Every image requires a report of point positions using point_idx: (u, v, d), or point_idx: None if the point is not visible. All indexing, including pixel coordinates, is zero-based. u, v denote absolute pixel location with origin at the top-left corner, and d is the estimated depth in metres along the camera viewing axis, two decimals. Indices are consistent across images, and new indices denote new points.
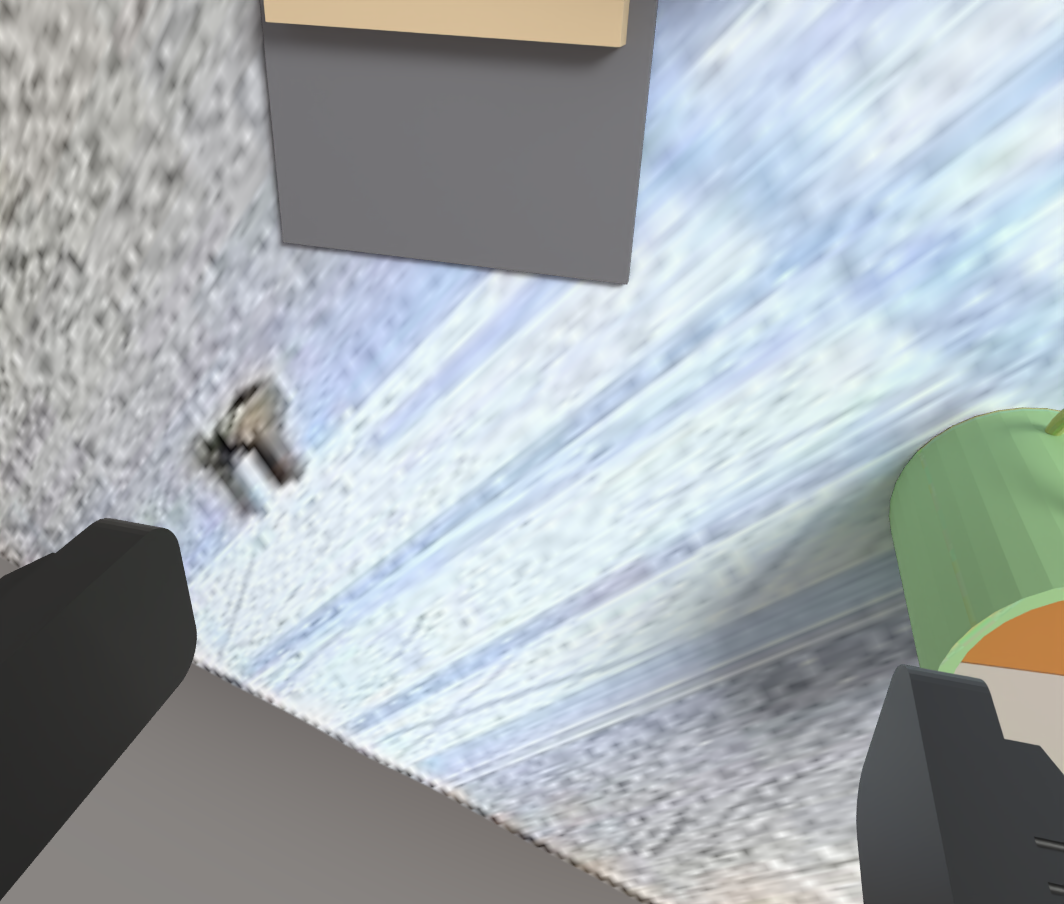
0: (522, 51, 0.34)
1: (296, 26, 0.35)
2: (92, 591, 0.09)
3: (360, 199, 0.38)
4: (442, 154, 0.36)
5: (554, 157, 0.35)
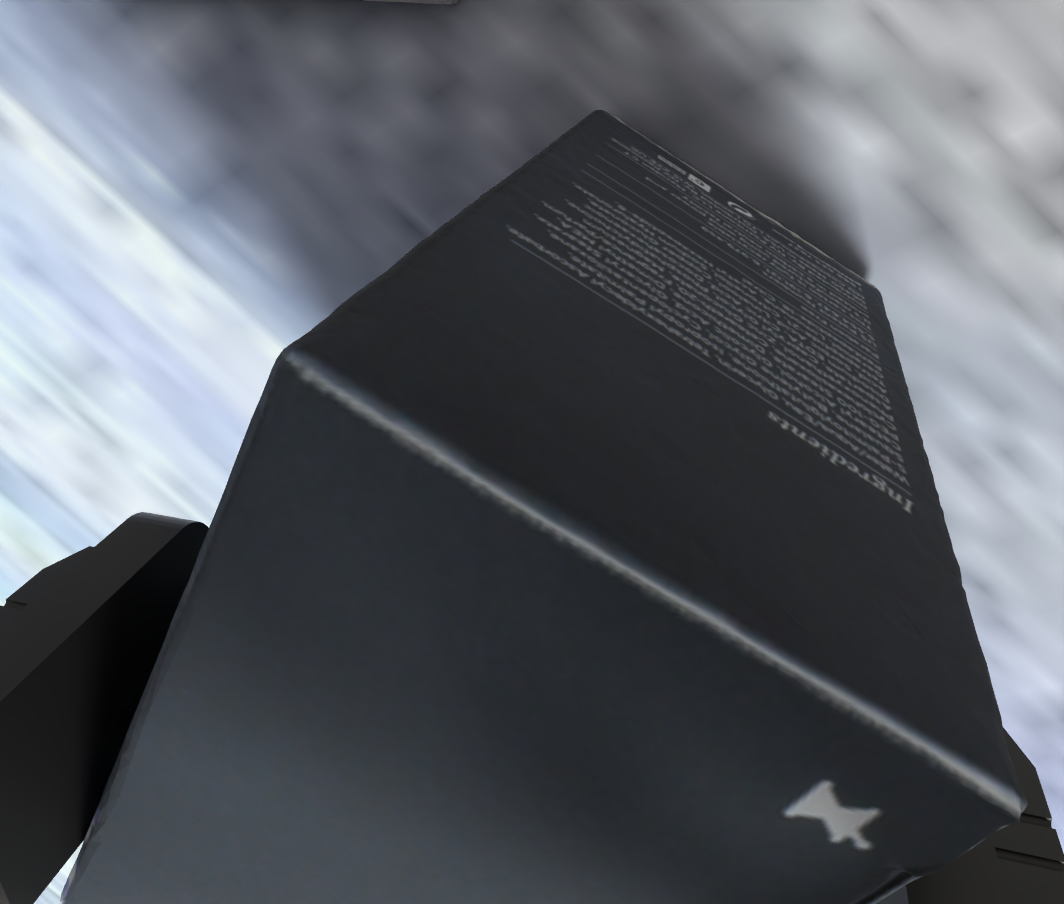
0: None
1: None
2: (133, 583, 0.09)
3: None
4: None
5: None
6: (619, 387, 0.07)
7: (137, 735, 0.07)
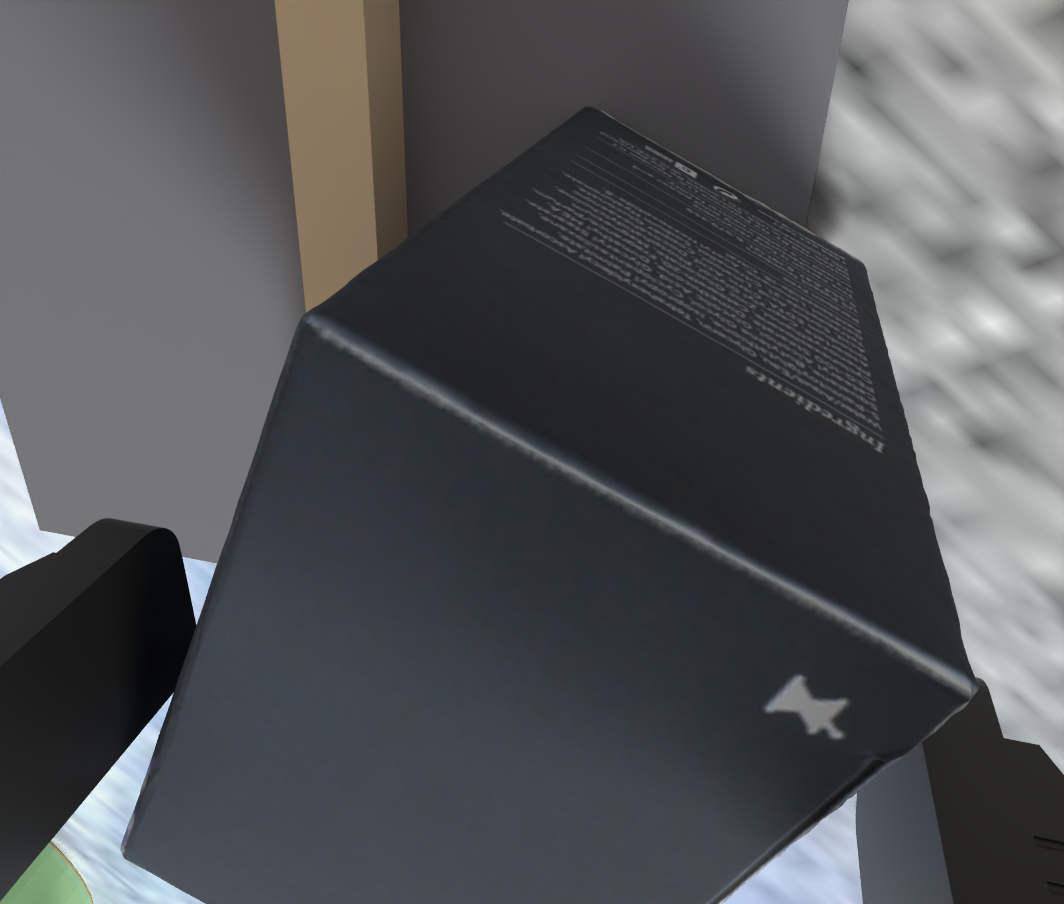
0: None
1: None
2: (93, 591, 0.09)
3: None
4: (132, 240, 0.18)
5: (183, 442, 0.20)
6: (605, 344, 0.07)
7: (187, 681, 0.08)
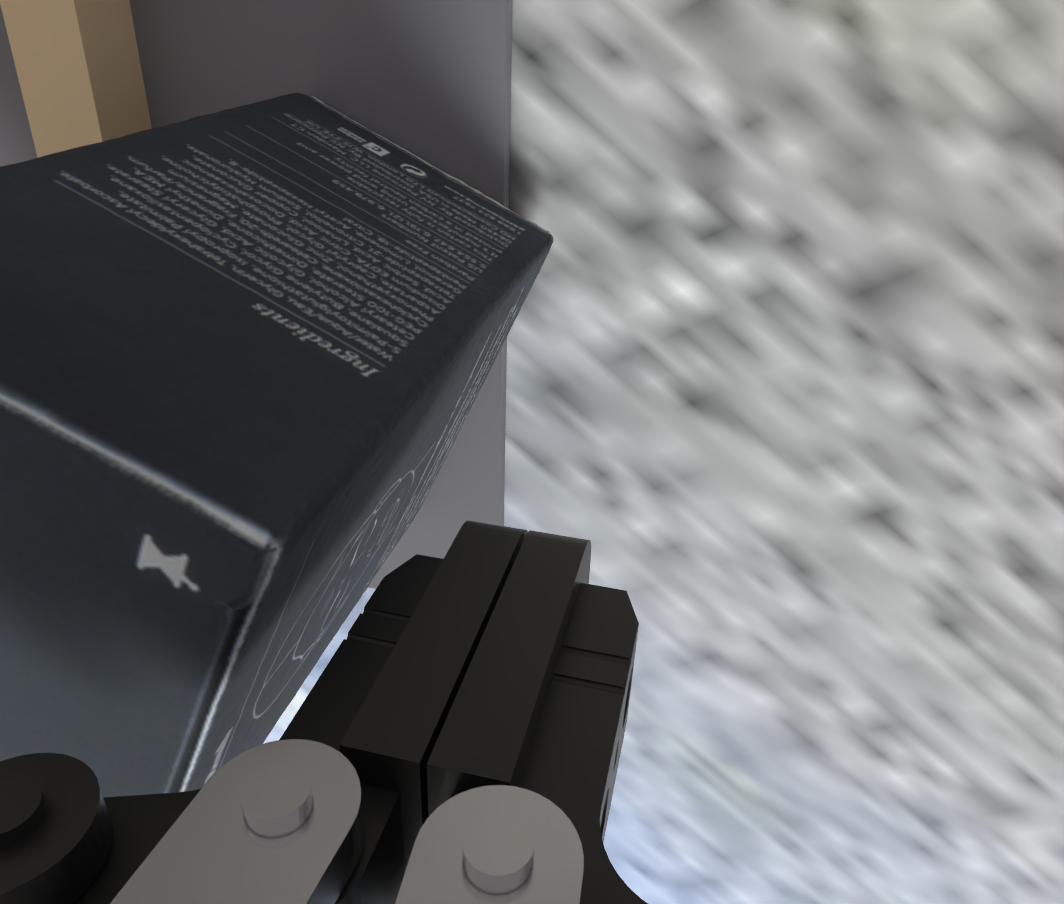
0: None
1: None
2: (498, 592, 0.09)
3: None
4: None
5: None
6: (76, 276, 0.09)
7: None
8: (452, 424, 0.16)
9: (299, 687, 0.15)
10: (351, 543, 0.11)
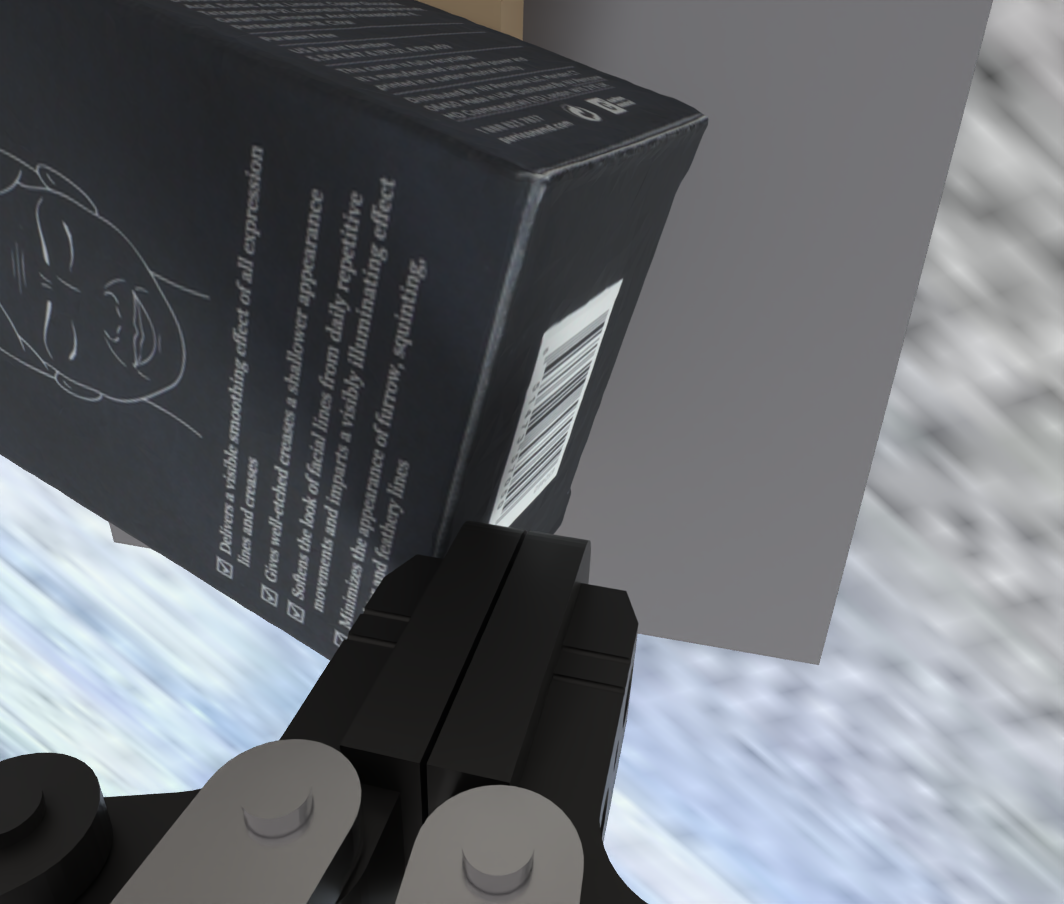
0: None
1: None
2: (498, 592, 0.09)
3: None
4: None
5: None
6: None
7: None
8: (282, 359, 0.10)
9: (92, 503, 0.13)
10: (4, 165, 0.11)
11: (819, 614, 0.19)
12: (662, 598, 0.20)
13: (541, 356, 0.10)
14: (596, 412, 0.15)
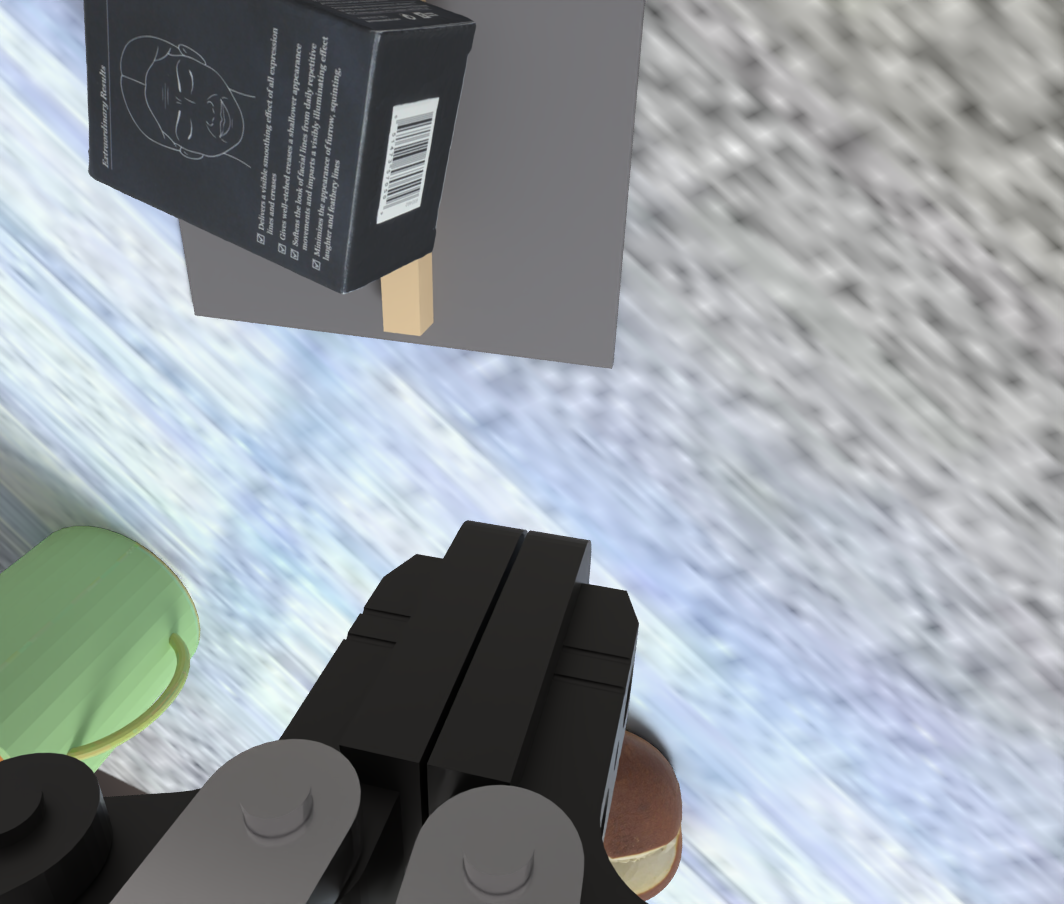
0: None
1: None
2: (497, 592, 0.09)
3: None
4: None
5: None
6: None
7: None
8: (286, 121, 0.24)
9: (194, 218, 0.28)
10: (162, 46, 0.25)
11: (607, 333, 0.33)
12: (520, 329, 0.34)
13: (393, 118, 0.25)
14: (442, 180, 0.29)
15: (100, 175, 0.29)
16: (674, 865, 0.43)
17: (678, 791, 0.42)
